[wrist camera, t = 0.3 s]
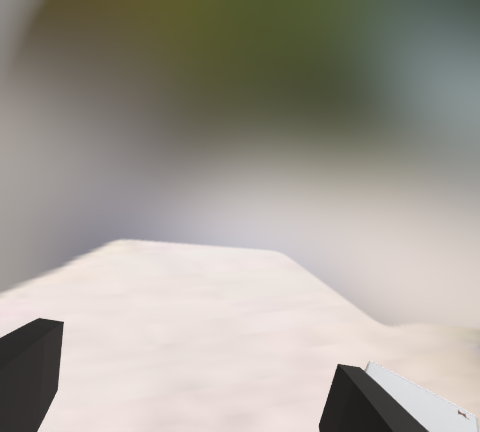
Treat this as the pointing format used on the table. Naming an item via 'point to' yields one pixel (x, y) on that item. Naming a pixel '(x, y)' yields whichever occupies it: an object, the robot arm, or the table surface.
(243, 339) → the table surface
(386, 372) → the supplement box
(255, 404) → the table surface
